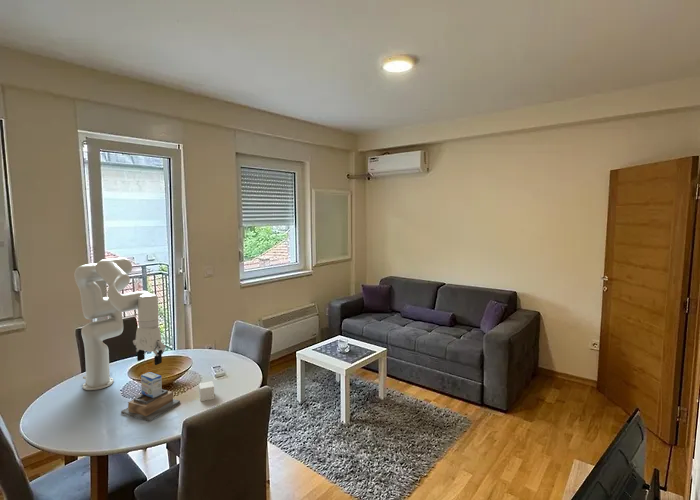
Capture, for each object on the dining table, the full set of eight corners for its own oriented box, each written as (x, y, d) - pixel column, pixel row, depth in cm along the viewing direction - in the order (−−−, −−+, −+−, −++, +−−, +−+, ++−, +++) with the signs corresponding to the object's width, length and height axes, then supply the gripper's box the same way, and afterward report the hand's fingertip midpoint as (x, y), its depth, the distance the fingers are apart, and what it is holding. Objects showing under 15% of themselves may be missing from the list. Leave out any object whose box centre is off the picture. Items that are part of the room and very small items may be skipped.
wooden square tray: (121, 413, 158) (120, 399, 158) (152, 396, 173) (152, 383, 173) (150, 421, 153) (149, 407, 152) (180, 403, 168) (179, 390, 167)
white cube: (200, 401, 170) (199, 388, 169) (199, 395, 175) (199, 383, 175) (214, 398, 172) (214, 386, 172) (212, 393, 178) (212, 381, 177)
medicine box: (141, 394, 163) (140, 374, 162) (150, 389, 167) (150, 371, 166) (152, 398, 159) (152, 378, 158) (162, 394, 163) (161, 375, 162)
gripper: (125, 323, 159) (126, 361, 160) (156, 328, 153) (157, 368, 155) (140, 318, 166) (142, 355, 167) (171, 323, 160) (172, 362, 162)
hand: (149, 361), depth 161 cm, fingers open, 9 cm apart
